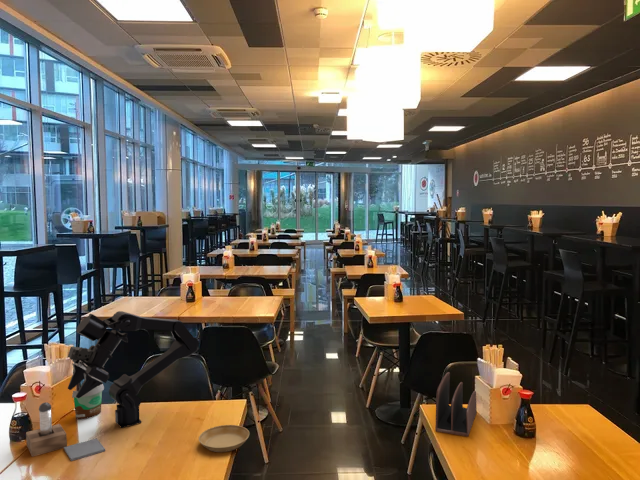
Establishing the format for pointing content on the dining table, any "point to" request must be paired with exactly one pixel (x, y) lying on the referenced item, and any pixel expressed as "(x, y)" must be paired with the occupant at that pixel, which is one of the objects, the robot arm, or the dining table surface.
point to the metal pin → (45, 419)
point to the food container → (88, 403)
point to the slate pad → (84, 449)
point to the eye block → (46, 440)
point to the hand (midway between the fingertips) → (73, 393)
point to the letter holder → (454, 410)
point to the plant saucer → (224, 438)
